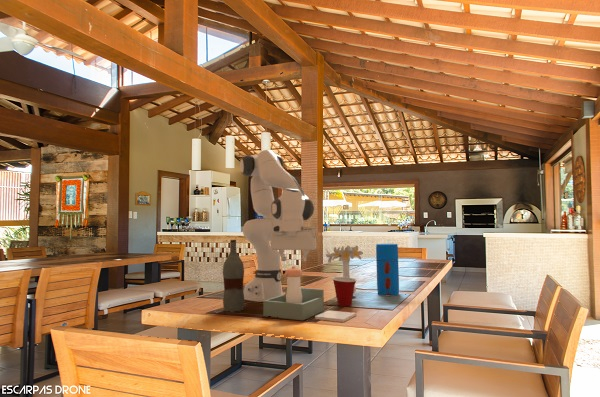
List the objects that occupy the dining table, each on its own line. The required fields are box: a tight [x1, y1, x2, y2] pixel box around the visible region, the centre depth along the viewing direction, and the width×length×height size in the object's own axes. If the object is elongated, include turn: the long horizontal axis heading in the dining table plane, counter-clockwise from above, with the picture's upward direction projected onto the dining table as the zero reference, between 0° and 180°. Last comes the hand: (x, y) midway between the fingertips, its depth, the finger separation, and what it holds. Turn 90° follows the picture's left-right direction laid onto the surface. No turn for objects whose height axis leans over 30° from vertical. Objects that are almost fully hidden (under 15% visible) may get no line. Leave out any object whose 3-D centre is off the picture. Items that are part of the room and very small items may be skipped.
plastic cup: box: [332, 276, 358, 308], centre depth 190 cm, size 11×11×12 cm
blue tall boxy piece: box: [375, 243, 400, 297], centre depth 218 cm, size 11×11×25 cm
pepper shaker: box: [284, 265, 303, 304], centre depth 175 cm, size 7×7×19 cm
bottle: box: [222, 239, 246, 313], centre depth 184 cm, size 9×9×30 cm
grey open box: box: [262, 286, 325, 321], centre depth 175 cm, size 18×18×9 cm
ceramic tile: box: [314, 309, 357, 323], centre depth 167 cm, size 12×12×1 cm
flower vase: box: [325, 245, 364, 295], centre depth 213 cm, size 13×18×25 cm
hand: (293, 261), depth 175 cm, fingers open, 8 cm apart
